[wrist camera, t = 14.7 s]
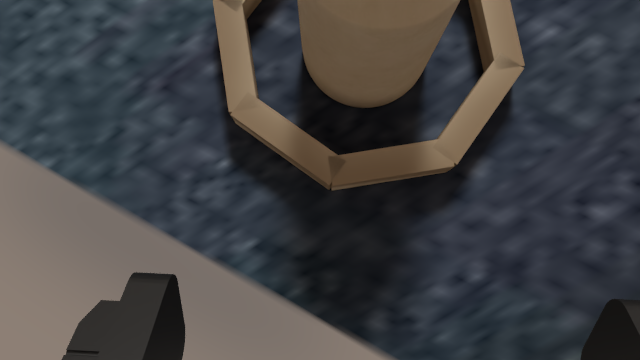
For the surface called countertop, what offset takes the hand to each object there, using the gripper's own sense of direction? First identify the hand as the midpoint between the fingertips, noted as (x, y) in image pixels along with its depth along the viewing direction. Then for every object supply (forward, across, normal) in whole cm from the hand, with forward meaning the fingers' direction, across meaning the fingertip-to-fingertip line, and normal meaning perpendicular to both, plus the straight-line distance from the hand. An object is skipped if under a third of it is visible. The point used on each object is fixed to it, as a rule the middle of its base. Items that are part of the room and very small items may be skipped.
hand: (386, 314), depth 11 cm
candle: (+17, 0, +2) cm, 17 cm away
